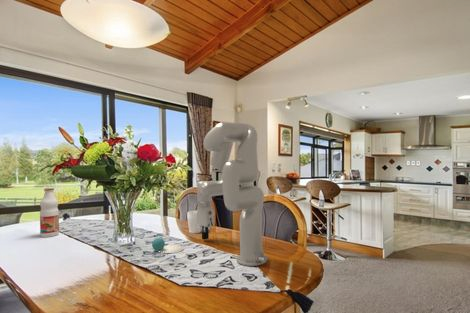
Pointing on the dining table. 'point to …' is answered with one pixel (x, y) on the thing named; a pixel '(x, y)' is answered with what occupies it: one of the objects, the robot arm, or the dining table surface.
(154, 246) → the ball
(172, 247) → the cream rounded object
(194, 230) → the cup
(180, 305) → the dining table surface
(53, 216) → the fruit juice
